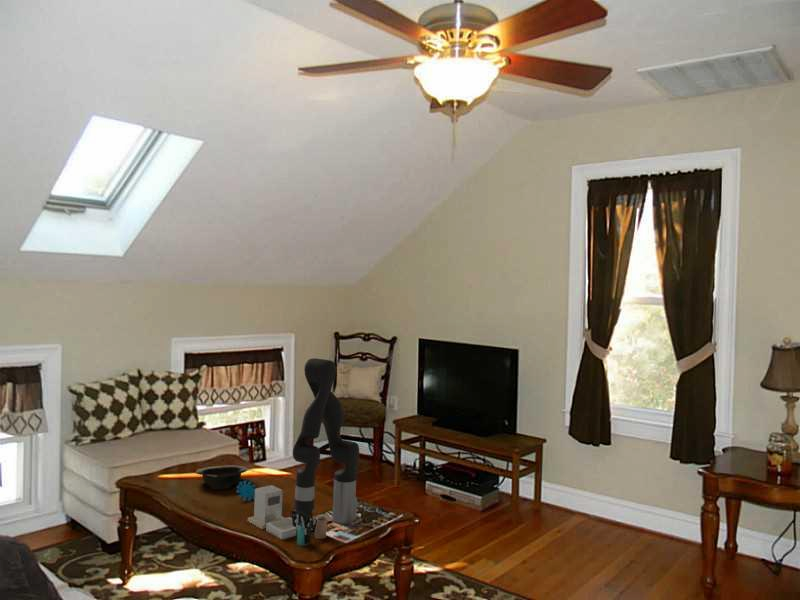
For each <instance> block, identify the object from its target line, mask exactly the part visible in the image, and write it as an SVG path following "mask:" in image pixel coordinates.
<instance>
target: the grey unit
mask: <svg viewBox="0 0 800 600" xmlns="http://www.w3.org/2000/svg"><path fill="white" fill-rule="evenodd" d="M254 489H255V496H254V497H255V499H254V502H253V503H254V508H253V510H254V511H253V516H250V517H247V522H248V521H249V522H248V523H250V524H251V523H252V525H253V524H254V525H253V526H255V525H256V526H255V527H256V528H258V527H259V528H258V529H260V528H261V529H260V530H262V529H263V530H266V529H265V528H266V523H270V522H274V521H277V520H281V519H285V518H286V517H284V516H282V515H283V514H282V513H283V489H281V488H279V487H277V486H275V485H273V484H271V485H270V484H269V485H266V486H261V487H257V488H256V487H255V488H254Z"/></svg>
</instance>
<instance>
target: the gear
mask: <svg viewBox="0 0 800 600" xmlns="http://www.w3.org/2000/svg"><path fill="white" fill-rule="evenodd" d="M247 482H248V483H247ZM236 488H237V490H236V493H237V494H238V493H240V494H238V498H242V500H243V501H244V502H245V501H246V500H247V501H248V502H251V501H252V499H254V500H255V489H256V485H255V484H252V481H250V480H249V481H247V480H243V481H240V483H239V484H238V485H236ZM242 496H244V497H242Z"/></svg>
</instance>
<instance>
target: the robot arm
mask: <svg viewBox="0 0 800 600" xmlns="http://www.w3.org/2000/svg"><path fill="white" fill-rule="evenodd" d="M336 366H337V365H336V364H335V362H334V361H333V360H329V359H324V358H316V357H315V358H309V359H307V360H306V362H305V364H304V376H305V379H306V382H307V384H308V386H309V389H310V390H311V392H312V395H313V397H314V399H313V401H312V402H311V403H310V404H309V406H308V407H307V409H306V410H305V413H304V415H303V418H302V424H301V425H302V426H301V430H300V433H299V435H298V437H297V440H296V441H295V444H294V446H293V449H292V457H293V459H294V460H295V461H296V462H298V463H300V464H301V463H302V464H305V467H304V468H303V467H302V468H298V470H297V471H296V475H295V490H294V509H293V510H291V512H290V514H291V518H292V523H293V527H295V529H296V536H295V537H296V538H295V539H296V540H297V534H298V524H300V523H302V525H303V528H304V532H305V534H304V544H308V543H309V544H310V543H311V535H312V534H315V529H316V524H317V519H316V518H314V517H313V511H314V510H315V502H316V501H315V499H316V487H315V484H316V483H315V482H316V481H315V480H316V473H317V470H318V466H319V462H320V459H321V451H320V449H319V448H318V447H317V446H316V445H314V444H313V445H312V444H309V442H310V441H311V440H314V439H316V440H317V439H318V438H319V436H320V434H321V433H320V432H321V426H322V424H323V427H324V430H325V433H326V438H327V442H328V443H327V444H328V447H329V452H330V456H331V458H332V460H333V461H335V462H337V463H342V464H345V465H344V466H345V467H344V468H342V469H338V470H336V471H334V474H333V493H332V495H333V497H332V498H333V500H332V501H333V502H332V518H331V519H332V521H333V522H334V523H336V524H343V525H346V524H351V523H353V522H354V521H355V520H357V515H358V514H357V512H358V511H357V510H358V497H357V496H356V489H357V474H358V470H359V462H360V461H359V458H360V446H359V444H358V443H357V442H355V441H352V440H351V441H350V440H346V439H345V440H344V439H342V437H341V434H340V430H341V429H342V426H343V424H344V421H345V411H344V409H343V405H342V403H341V401H340V400H339V398H338V397H337V396H336V395H335V394H334V393H333V392H332V388H333V384H334V382H335V379H336V373H337V367H336ZM295 520H296V523H295ZM306 524H309V525H306ZM307 528H308V531H307ZM309 544H308V545H309Z"/></svg>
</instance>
